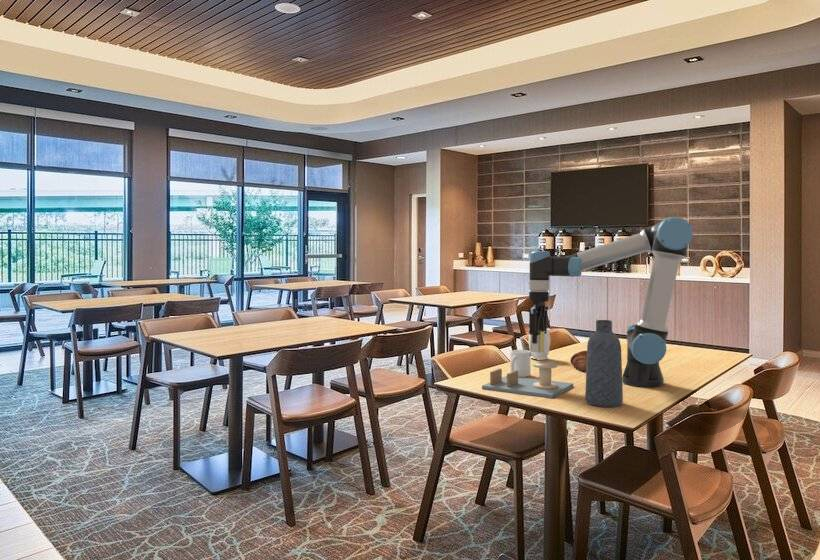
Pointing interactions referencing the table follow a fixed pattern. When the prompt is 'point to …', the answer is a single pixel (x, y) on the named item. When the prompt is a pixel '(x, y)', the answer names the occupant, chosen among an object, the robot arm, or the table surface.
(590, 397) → the vase
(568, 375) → the table surface
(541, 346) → the beige upright block
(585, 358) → the pastry
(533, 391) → the board
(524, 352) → the mug
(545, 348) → the jar
